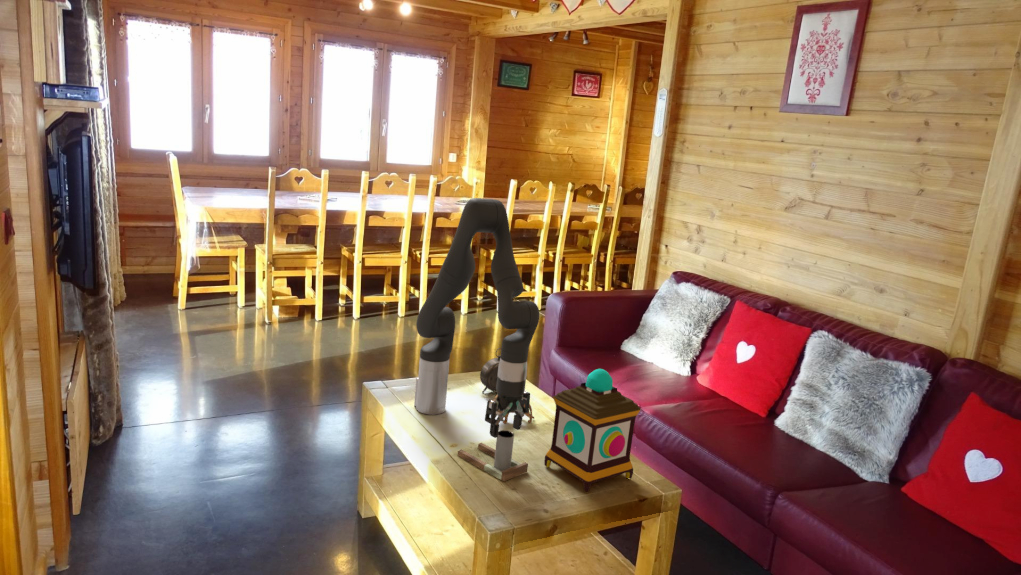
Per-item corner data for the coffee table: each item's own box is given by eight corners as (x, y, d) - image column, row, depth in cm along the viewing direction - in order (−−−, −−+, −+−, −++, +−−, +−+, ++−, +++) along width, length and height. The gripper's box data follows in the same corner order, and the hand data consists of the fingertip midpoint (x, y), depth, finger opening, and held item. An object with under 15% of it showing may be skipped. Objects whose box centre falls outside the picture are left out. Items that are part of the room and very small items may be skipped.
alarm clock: (505, 388, 257) (510, 344, 253) (513, 394, 252) (518, 349, 249) (477, 391, 251) (482, 346, 248) (485, 397, 247) (489, 351, 243)
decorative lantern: (536, 465, 202) (548, 361, 195) (588, 451, 214) (601, 353, 207) (586, 498, 187) (600, 387, 180) (639, 481, 199) (655, 376, 192)
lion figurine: (494, 426, 225) (497, 398, 223) (487, 419, 229) (490, 392, 227) (537, 422, 231) (540, 395, 229) (530, 416, 235) (533, 389, 233)
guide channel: (457, 455, 203) (458, 447, 202) (480, 447, 209) (481, 439, 209) (503, 481, 191) (504, 472, 190) (527, 472, 197) (528, 463, 197)
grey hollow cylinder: (508, 474, 195) (512, 438, 193) (491, 471, 196) (495, 435, 193) (511, 467, 199) (515, 431, 197) (495, 464, 200) (499, 428, 198)
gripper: (520, 366, 199) (513, 421, 203) (482, 375, 189) (476, 433, 193) (540, 375, 194) (533, 431, 198) (502, 385, 184) (496, 444, 188)
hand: (505, 432), depth 195 cm, fingers open, 8 cm apart
